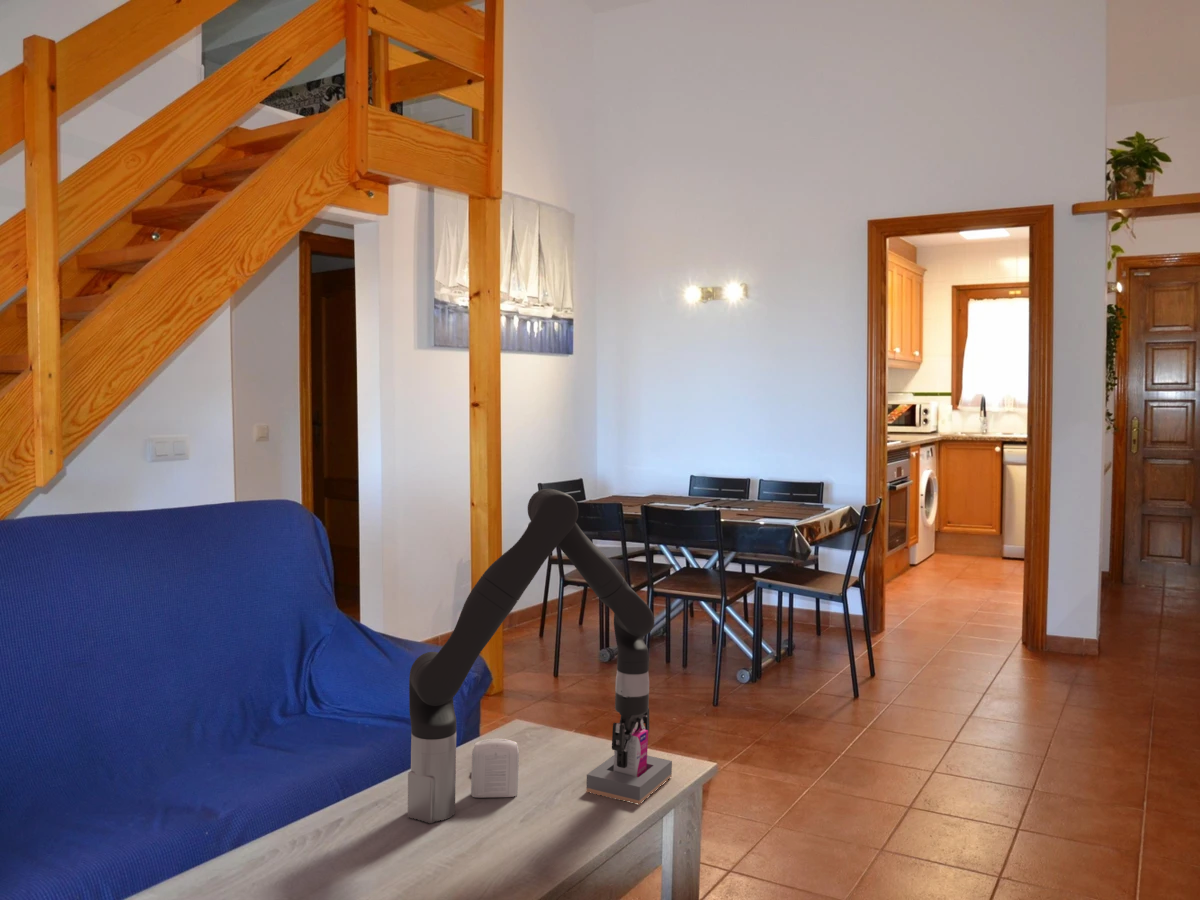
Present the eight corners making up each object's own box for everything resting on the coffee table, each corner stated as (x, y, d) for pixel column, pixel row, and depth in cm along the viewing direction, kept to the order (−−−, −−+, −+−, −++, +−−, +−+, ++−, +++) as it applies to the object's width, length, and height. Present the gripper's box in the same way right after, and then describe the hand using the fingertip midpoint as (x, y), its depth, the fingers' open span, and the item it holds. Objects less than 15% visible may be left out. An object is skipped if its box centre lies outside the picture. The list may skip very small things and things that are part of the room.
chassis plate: (639, 805, 209) (639, 787, 208) (586, 792, 215) (586, 774, 215) (671, 777, 224) (671, 760, 223) (621, 766, 230) (621, 749, 230)
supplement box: (635, 787, 215) (636, 737, 215) (612, 781, 218) (613, 731, 218) (647, 778, 220) (648, 729, 220) (624, 772, 223) (625, 724, 223)
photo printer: (517, 790, 215) (518, 735, 214) (518, 798, 211) (519, 742, 210) (470, 791, 214) (471, 736, 213) (471, 799, 210) (471, 743, 209)
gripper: (631, 679, 226) (629, 747, 227) (602, 695, 213) (600, 767, 214) (660, 684, 222) (658, 753, 223) (633, 701, 210) (631, 775, 211)
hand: (630, 760), depth 219 cm, fingers open, 8 cm apart
